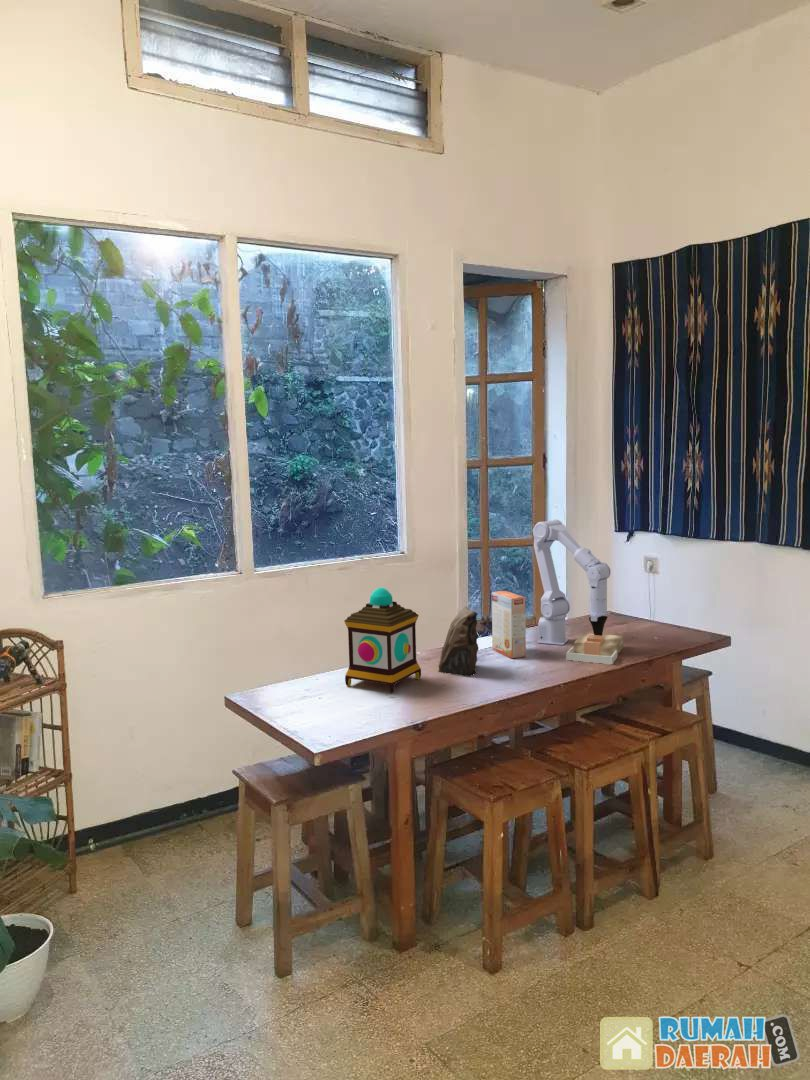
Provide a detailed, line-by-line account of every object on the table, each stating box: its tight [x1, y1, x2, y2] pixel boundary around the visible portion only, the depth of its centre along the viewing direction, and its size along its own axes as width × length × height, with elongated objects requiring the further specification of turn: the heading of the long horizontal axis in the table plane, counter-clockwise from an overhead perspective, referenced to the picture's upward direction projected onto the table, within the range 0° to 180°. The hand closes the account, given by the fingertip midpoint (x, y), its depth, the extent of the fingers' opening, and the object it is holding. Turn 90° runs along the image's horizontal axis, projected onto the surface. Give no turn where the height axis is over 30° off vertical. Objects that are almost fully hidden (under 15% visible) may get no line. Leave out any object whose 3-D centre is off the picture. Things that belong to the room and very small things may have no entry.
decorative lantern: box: [344, 587, 422, 694], centre depth 253 cm, size 20×20×30 cm
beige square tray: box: [573, 632, 624, 656], centre depth 285 cm, size 14×14×4 cm
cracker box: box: [491, 590, 527, 659], centre depth 283 cm, size 14×6×21 cm, turn 22°
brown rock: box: [437, 605, 479, 677], centre depth 264 cm, size 13×13×20 cm
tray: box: [565, 646, 618, 665], centre depth 274 cm, size 15×9×2 cm, turn 65°
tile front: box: [584, 641, 601, 656], centre depth 276 cm, size 5×5×2 cm
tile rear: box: [587, 635, 605, 645], centre depth 280 cm, size 5×5×2 cm
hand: (598, 637), depth 283 cm, fingers closed
